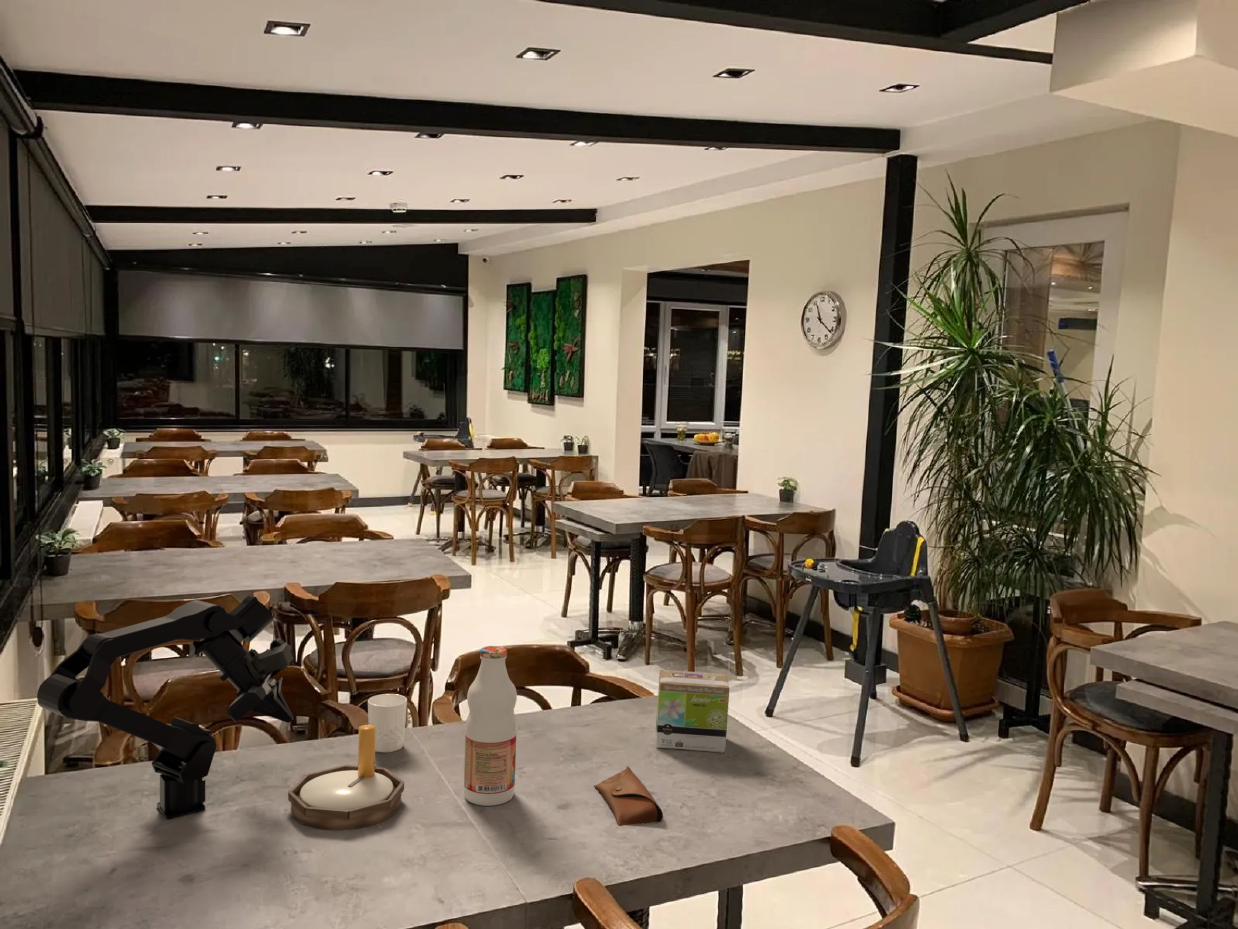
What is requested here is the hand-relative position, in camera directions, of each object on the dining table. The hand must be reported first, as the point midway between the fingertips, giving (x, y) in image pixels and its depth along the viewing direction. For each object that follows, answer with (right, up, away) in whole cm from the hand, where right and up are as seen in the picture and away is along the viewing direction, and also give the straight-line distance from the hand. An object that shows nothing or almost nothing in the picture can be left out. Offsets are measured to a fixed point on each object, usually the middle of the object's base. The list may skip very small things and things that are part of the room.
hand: (291, 720), depth 175 cm
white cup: (+12, -12, +24) cm, 29 cm away
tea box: (+76, -14, +33) cm, 84 cm away
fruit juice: (+36, -15, +3) cm, 39 cm away
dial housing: (+11, -14, -3) cm, 18 cm away
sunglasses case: (+61, -17, +3) cm, 64 cm away
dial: (+11, -12, -4) cm, 17 cm away
